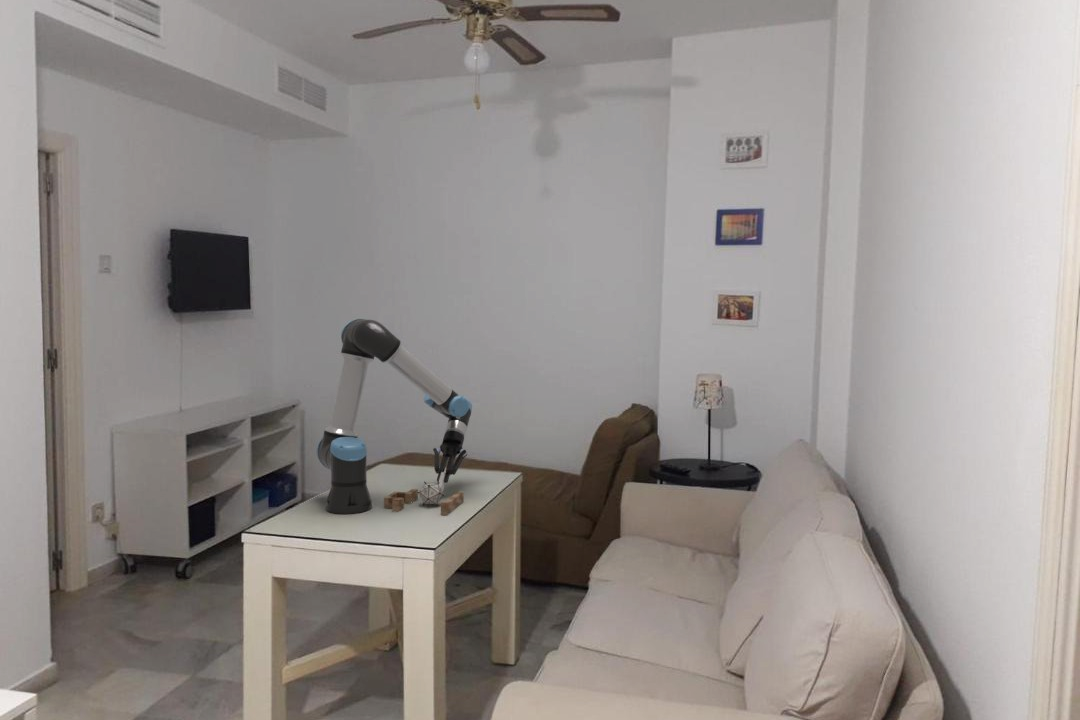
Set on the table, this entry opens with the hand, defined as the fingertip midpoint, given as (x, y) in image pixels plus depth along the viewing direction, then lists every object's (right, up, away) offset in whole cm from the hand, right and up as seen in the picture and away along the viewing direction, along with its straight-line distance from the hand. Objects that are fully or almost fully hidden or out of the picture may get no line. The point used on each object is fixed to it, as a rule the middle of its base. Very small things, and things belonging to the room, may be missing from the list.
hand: (439, 489), depth 276 cm
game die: (-2, -4, -8) cm, 9 cm away
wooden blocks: (-5, -4, -9) cm, 11 cm away
